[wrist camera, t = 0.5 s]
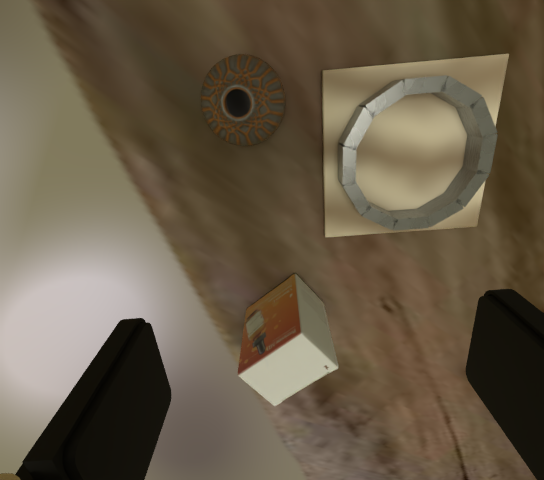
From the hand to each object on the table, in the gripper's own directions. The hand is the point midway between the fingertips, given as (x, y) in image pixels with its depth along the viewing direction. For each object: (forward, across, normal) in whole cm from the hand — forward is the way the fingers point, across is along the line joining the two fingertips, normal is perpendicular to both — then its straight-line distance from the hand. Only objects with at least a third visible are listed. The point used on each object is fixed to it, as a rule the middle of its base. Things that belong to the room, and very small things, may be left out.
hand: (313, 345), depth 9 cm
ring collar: (+25, -12, 0) cm, 27 cm away
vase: (+26, +3, -7) cm, 27 cm away
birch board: (+25, -12, 0) cm, 28 cm away
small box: (+26, +1, +16) cm, 30 cm away
